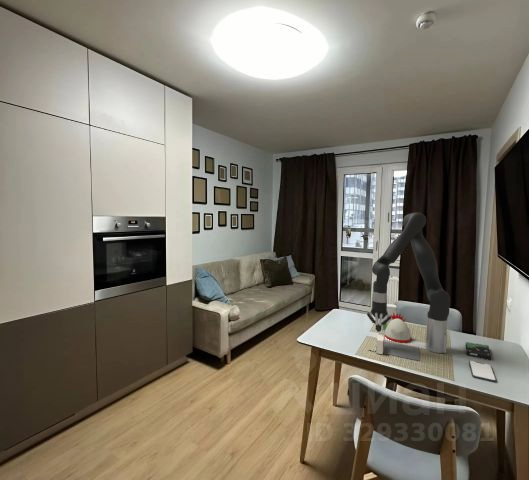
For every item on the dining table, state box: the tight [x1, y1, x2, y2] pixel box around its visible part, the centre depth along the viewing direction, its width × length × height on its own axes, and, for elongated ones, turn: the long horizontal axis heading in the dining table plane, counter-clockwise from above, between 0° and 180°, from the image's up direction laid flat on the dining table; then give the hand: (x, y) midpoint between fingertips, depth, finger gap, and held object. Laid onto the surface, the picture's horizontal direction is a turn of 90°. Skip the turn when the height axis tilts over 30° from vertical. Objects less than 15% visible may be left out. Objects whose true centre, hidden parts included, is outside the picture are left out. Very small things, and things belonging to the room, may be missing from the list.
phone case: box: [468, 360, 497, 384], centre depth 134 cm, size 9×2×16 cm
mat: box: [383, 341, 420, 362], centre depth 156 cm, size 24×16×1 cm, turn 63°
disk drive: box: [465, 341, 492, 361], centre depth 154 cm, size 10×3×15 cm
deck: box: [375, 332, 386, 355], centre depth 154 cm, size 3×7×10 cm
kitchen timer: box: [384, 312, 412, 344], centre depth 171 cm, size 14×14×15 cm
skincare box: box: [381, 303, 398, 331], centre depth 185 cm, size 8×7×16 cm
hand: (378, 331), depth 159 cm, fingers closed
